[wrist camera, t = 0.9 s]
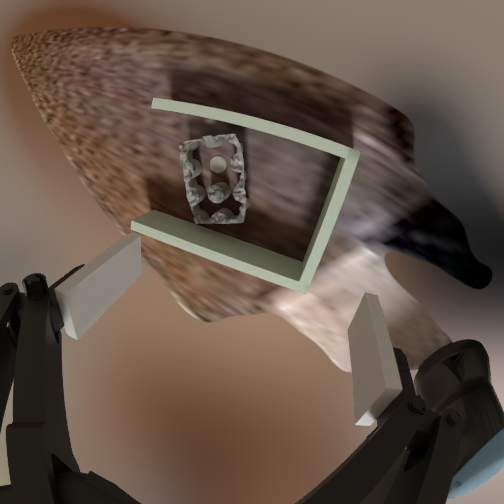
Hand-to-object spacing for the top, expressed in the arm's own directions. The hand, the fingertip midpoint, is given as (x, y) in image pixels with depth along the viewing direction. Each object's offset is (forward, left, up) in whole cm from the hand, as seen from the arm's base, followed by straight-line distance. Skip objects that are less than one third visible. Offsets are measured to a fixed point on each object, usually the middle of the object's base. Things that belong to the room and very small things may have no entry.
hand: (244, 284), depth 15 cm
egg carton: (+9, -1, -21) cm, 22 cm away
